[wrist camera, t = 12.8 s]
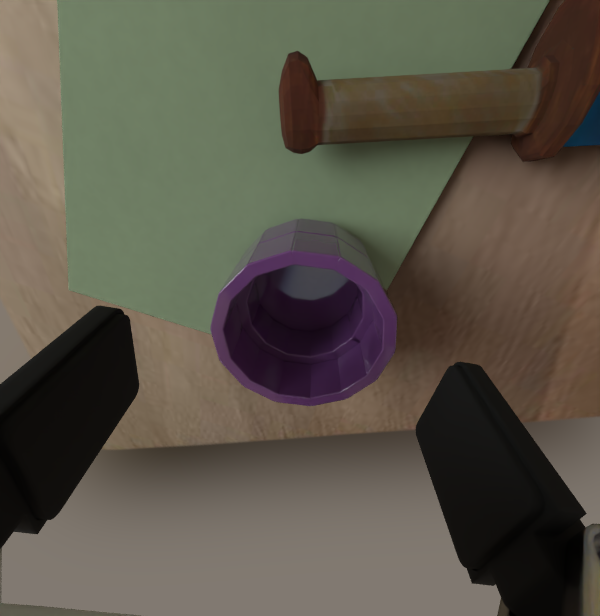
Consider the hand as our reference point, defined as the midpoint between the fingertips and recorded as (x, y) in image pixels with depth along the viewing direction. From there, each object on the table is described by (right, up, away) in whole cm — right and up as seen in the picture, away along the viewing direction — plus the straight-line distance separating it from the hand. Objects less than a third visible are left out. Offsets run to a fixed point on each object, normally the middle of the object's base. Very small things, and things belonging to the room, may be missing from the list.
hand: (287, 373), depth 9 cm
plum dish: (+1, +3, +7) cm, 7 cm away
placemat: (-1, +9, +4) cm, 10 cm away
